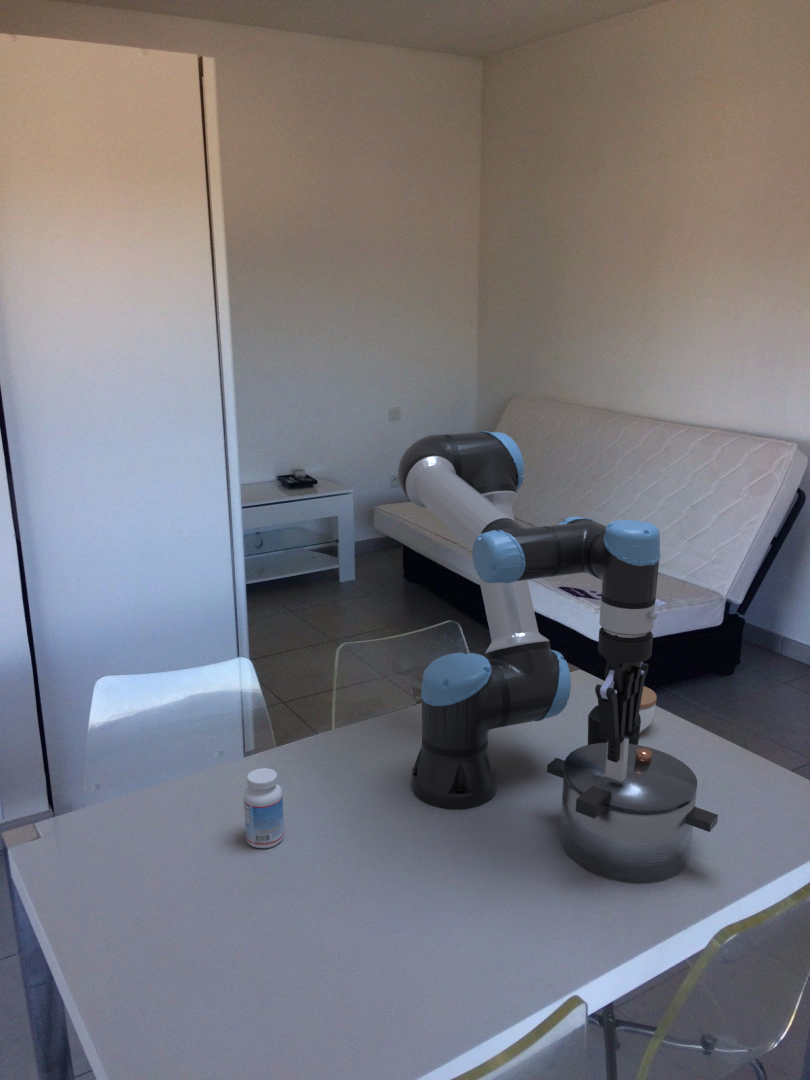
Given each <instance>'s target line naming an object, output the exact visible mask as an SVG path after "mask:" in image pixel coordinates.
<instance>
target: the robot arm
mask: <svg viewBox="0 0 810 1080" xmlns="http://www.w3.org/2000/svg"><path fill="white" fill-rule="evenodd" d="M520 449H521V448H519V446H518V444H517V443H516V441H515V440H514V439H513V438H512V437H511V436H510V435H508V434H506V433H504V432H501V431H500V432H499V431H498V432H497V431H495V432H494V431H487V430H483V431H480V432H466V433H465V432H464V433H463V432H461V433H449V434H431V435H428V436H424V437H421V438H419V439H418V440H416V441H414V443H412V444H411V445H410V446H409V447H407V449H406V450H405V452H404V453H403V455H402V456H401V458H400V461H399V463H398V469H397V478H398V484H399V485H400V489H401V490H402V492H403V494H405V496H406V497H407V498H408V499H409V500H410V501H411V502H412V503H413V504H414V505H416V506H418V507H420V508H425V509H426V508H427V509H428V510H429V511H430V512H432V514H433V515H435V516H436V517H437V518H438V519H439V520H440V521H442V523H444V525H445V526H447V527H448V528H449V529H450V530H451V531H452V532H453V533H454V534H455V535H457V536H458V537H459V538H460V539H461V540H462V541H463V542H464V543H465V544H466V545H467V546H469V547H470V548H471V550H472V551H471V552H472V553H471V555H472V564H473V567H474V569H475V570H476V573H477V576H478V580H479V584H480V590H481V595H482V600H483V604H484V610H485V615H486V621H487V623H488V624H487V625H488V627H489V628H488V629H489V634H490V639H491V642H490V644H489V646H488V647H487V649H486V651H485V656H484V655H481V654H479V653H474V652H468V653H464V652H456V653H449V654H446V655H443V656H440V657H438V658H436V659H435V660H433V661H431V662H430V663H429V664H428V665H427V667H426V668H425V670H424V671H423V673H422V674H423V676H422V681H421V682H422V683H421V689H420V696H421V746H420V749H419V751H418V754H417V757H416V759H415V761H414V765H413V768H412V770H411V789H412V792H413V793H414V794H415V795H416V796H417V798H419V799H420V800H422V801H423V802H426V803H427V804H430V805H432V806H437V807H440V808H446V809H467V808H474V807H477V806H480V805H482V804H485V803H487V802H488V801H490V800H491V799H492V798H493V797H494V796H495V794H496V793H497V790H498V773H497V771H496V769H495V766H494V762H493V758H492V756H491V752H490V749H489V735H490V734H489V733H490V730H494V729H498V728H503V727H510V726H514V725H520V724H525V723H530V722H532V723H533V722H541V721H543V720H545V719H548V718H553V717H556V716H558V715H560V714H561V713H563V711H564V709H566V706H567V704H568V701H569V698H570V695H571V689H572V688H571V687H572V684H571V683H572V682H571V681H572V679H571V671H570V667H569V664H568V662H567V660H566V659H565V657H564V655H563V654H562V653H561V652H559V651H556V650H553V649H551V643H550V640H549V639H548V638H547V637H545V636H544V635H542V634H541V633H540V632H539V628H538V623H537V619H536V618H537V617H536V615H535V609H534V605H533V599H532V595H531V591H530V587H529V581H528V580H534V579H535V580H537V579H543V578H544V579H545V578H551V577H552V578H553V577H561V576H570V575H576V574H588V575H590V576H593V577H594V578H597V579H599V580H601V595H600V609H599V620H598V621H599V622H598V623H599V626H601V627H600V628H599V630H598V643H597V651H598V653H599V654H600V655H601V656H602V657H603V658H604V659H605V660H606V666H605V670H604V678H605V680H604V682H603V683H602V684H596V686H595V689H594V693H595V694H596V697H597V705H598V710H599V726H600V738H601V739H603V740H606V741H607V755H606V770H605V776H606V777H609V778H612V779H615V780H617V781H620V782H622V781H623V780H625V779H626V773H627V760H628V746H629V738H628V736H629V737H632V738H635V736H636V732H633V731H632V728H636V726H637V721H638V716H639V710H640V704H641V698H642V693H643V687H644V686H645V681H646V680H645V679H646V676H647V673H648V670H649V667H650V666H649V663H646V662H645V661H647V660H649V659H650V658H651V656H652V653H653V640H654V639H653V638H654V634H653V633H652V630H653V629H654V622H655V620H656V619H657V618H658V613H656V612H655V611H656V610H655V608H656V598H657V588H658V576H659V566H660V560H661V547H660V546H661V545H660V544H661V543H660V541H661V533H660V530H659V528H658V527H657V526H656V525H655V524H653V523H650V522H648V521H640V520H635V519H619V520H613V521H611V522H609V523H608V524H607V525H605V524H601V523H600V522H598V521H596V520H594V519H591V518H587V517H582V516H569V517H567V518H565V519H563V520H562V521H561V522H559V523H558V524H555V525H543V526H534V527H523V525H521V524H519V523H518V522H517V521H516V520H515V517H514V511H513V504H514V502H515V501H516V500H517V499H518V490H519V489H520V488H521V487H522V485H523V482H524V479H525V475H524V473H525V463H524V459H523V455H522V452H521V450H520Z"/></svg>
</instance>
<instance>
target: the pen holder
mask: <svg viewBox="0 0 810 1080" xmlns="http://www.w3.org/2000/svg"><path fill="white" fill-rule="evenodd" d="M640 725H641V717H640V715H639V716H638V721H637V726H636V728H632V731H633V732H636V736H635V738H632V737H629V736H628V738H629V744H635V745H639V741H640V734H641V733H640ZM639 733H640V734H639ZM597 743H607V741H606V740H603V739H601V738H600V726H599V710H598V704H597V705H595V707H593V708H592V709H591V710H590V712H589V713H588V715H587V745H591V744H597Z"/></svg>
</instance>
